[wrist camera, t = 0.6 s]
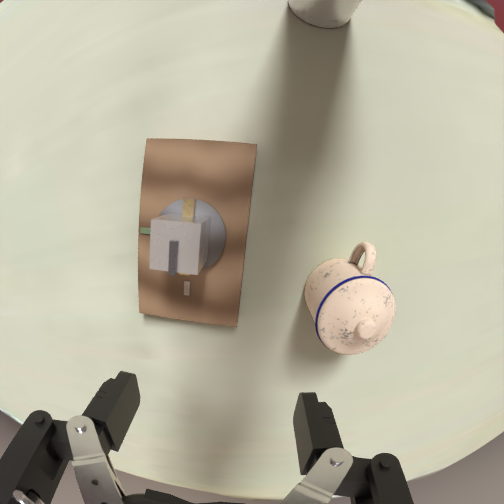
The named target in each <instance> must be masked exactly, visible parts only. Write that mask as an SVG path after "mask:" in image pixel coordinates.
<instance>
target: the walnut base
mask: <svg viewBox="0 0 504 504" xmlns="http://www.w3.org/2000/svg"><path fill="white" fill-rule="evenodd" d="M256 149H257V144H247V143H237V142H225V141H211V140H192V139H147V140H146V148H145V156H144V164H143V174H142V185H141V198H140V214H139V238H138V290H139V313H144V314H149V315H155V316H161V317H167V318H173V319H180V320H187V321H193V322H201V323H208V324H216V325H224V326H233V327H237V321H238V312H239V302H240V293H241V284H242V274H243V265H244V256H245V246H246V237H247V228H248V219H249V210H250V201H251V192H252V184H253V175H254V166H255V157H256ZM183 199H196V208H195V216H204V217H211V221H210V232H209V245H208V258H207V261H206V263H205V264H204V266H203V267H202V269H201V270H200V272H199V274H198V275H193V274H190V275H181V274H179V273H177V272H176V276H173V275H168V271H161V270H154V269H150V231H151V219H153V218H156V217H159V216H162V215H165V214H168V213H171V214H182V211H183Z"/></svg>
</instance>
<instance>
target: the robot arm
mask: <svg viewBox="0 0 504 504" xmlns="http://www.w3.org/2000/svg"><path fill="white" fill-rule="evenodd" d="M361 1H362V0H288V3H289V6H290V8H291V10H292V11H293V13H294V14H295V15H296V16H298V17H299V18H300V19H302V20H304V21H305V22H307V23H310V24H312V25H315V26H319V27H324V28H335V27H340V26H343V25H345V24H346V23H347V22H348V21H349V20H350V18H351V16H352V15H353V13H354V12H355V10H356V8H357V7H358V6H359V4H360V2H361ZM139 404H140V393H139V388H138V383H137V378H136V375H135V374H132V373H128V372H124V371H120V372H119V374H118V375H117V377H116V378H115V379H112V378H110V379H109V380H107V381H106V382H104V383H103V384H102V386H101V387H100V389H99V391H98V392H97V393H96V395H95V396H94V398H93V399H92V401H91V402H90V404H89V405H88V407H87V408H86V410H85V411H84V413H83V414H82V416H75V417H72V418H71V419H69V421H60V420H53V419H52V417H51V416H50V414H49V413H48V412H46V411H42V410H37V411H34V412H32V413H31V414H30V415H29V416H28V418H27V419H26V421H25V422H24V424H23V425H22V427H21V428H20V429H19V431H18V432H17V434H16V435H15V437H14V438H13V440H12V441H11V443H10V445H9V446H8V448H7V449H6V451H5V452H4V454H3V456H2V457H1V459H0V504H50V503H51V501H52V498H53V496H54V494H55V491H56V489H57V487H58V484H59V482H60V480H61V477H62V475H63V473H64V471H65V469H66V466H67V464H68V462H69V460H72V466H73V470H74V473H75V476H76V480H77V483H78V486H79V489H80V492H81V495H82V498H83V500H84V503H85V504H194V503H191V502H188V501H185V500H183V499H180V498H178V497H175V496H173V495H171V494H167V493H162V492H158V491H153V490H150V489H146V492H145V494H132V495H126V493H125V491H124V490H123V487H122V485H121V483H120V481H119V479H118V477H117V475H116V472H115V470H114V467H113V465H112V463H111V460H110V457H109V455H108V454H109V452H110V450H114V451H117V452H118V451H119V449H120V446H121V444H122V442H123V440H124V437H125V435H126V433H127V431H128V429H129V426H130V424H131V422H132V420H133V418H134V416H135V413H136V411H137V409H138V407H139ZM293 425H294V431H295V438H296V445H297V452H298V459H299V466H300V473H301V475H306V476H305V478H304V479H303V480H302V481H301V482H300V483H298V484H297V485H296V486H295V487H294V488H293V490H292V491H291V492H290V493H289V494H288V495H287V496H286V497H285V499H284V500H283V501H282V502H281V503H280V504H328V502H329V501H330V499H331V497H332V496H333V495H338V496H347V497H350V498H351V504H414V503H413V500H412V497H411V494H410V491H409V488H408V485H407V482H406V479H405V476H404V474H403V471H402V468H401V465H400V462H399V460H398V459H397V458H396V457H395V456H394V455H392V454H389V453H381V454H378V455H376V456H375V457H374V458H373V459H365V458H357V457H354V456H352V455H351V454H350V453H349V452H348V451H347V450H345V449H344V447H343V445H342V441H341V438H340V435H339V431H338V428H337V425H336V422H335V418H334V415H333V412H332V409H331V408H330V407H329V406H328V405H327V403H326V402H318V399H317V395H316V393H315V392H309V393H299V396H298V400H297V404H296V408H295V411H294V416H293ZM199 504H243V503H228V502H214V503H199Z"/></svg>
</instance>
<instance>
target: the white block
mask: <svg viewBox="0 0 504 504" xmlns="http://www.w3.org/2000/svg"><path fill="white" fill-rule="evenodd" d="M195 208H196V199H183V211H182V214H171V213H168V214H165V215H162V216H159V217H156V218H153V219H151V231H150V269H154V270H161V271H168V275H173V276H176V272H177V273H179V274H181V275H190V274H193V275H198V274H199V272H200V270H201V269H202V267H203V266H204V264H205V263H206V261H207V258H208V245H209V232H210V221H211V217H204V216H195Z"/></svg>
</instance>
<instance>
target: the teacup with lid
mask: <svg viewBox="0 0 504 504" xmlns="http://www.w3.org/2000/svg"><path fill="white" fill-rule="evenodd" d="M364 252H365V261H364V264H363V267H362V268H361V267H360V266H358V263H359V260H360V258H361V256H362V254H363V253H364ZM375 261H376V250H375V247H374V246H373V245H372V244H370V243H368V242H361V243H359V244H358V245H357V246H356V247H355V248H354V250H353V252H352V254H351V256H350V259H349V260H347V259H341V258H337V259H331V260H328V261H326V262H324V263H322V264H320V265H319V266H318V267H317V268H316V269H314V271H313V272H312V273H311V274H310V276H309V278H308V280H307V282H306V285H305V292H304V294H305V301H306V304H307V306H308V309H309V311H310V313H311V315H312V318H313V320H314V322H315V326H316V332H317V335H318V337H319V339H320V340H321V342H322V343H323V344H324V345H325V346H326V347H327V348H329V349H330V350H332V351H334V352H336V353H339V354H346V355H352V354H359V353H362V352H365V351H367V350H369V349H371V348H373V347H374V346H375V345H377V344H378V343H379V342H380V341H381V340H382V339H383V338H384V337H385V336H386V334H387V333H388V331H389V330H390V328H391V326H392V323H393V320H394V316H395V301H394V297H393V294H392V292H391V290H390V289H389V287H388V286H387V285H386V284H385V283H384V282H383V281H381V280H379V279H377V278H375V277H372V276H371V275H372V272H373V269H374V266H375Z"/></svg>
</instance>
